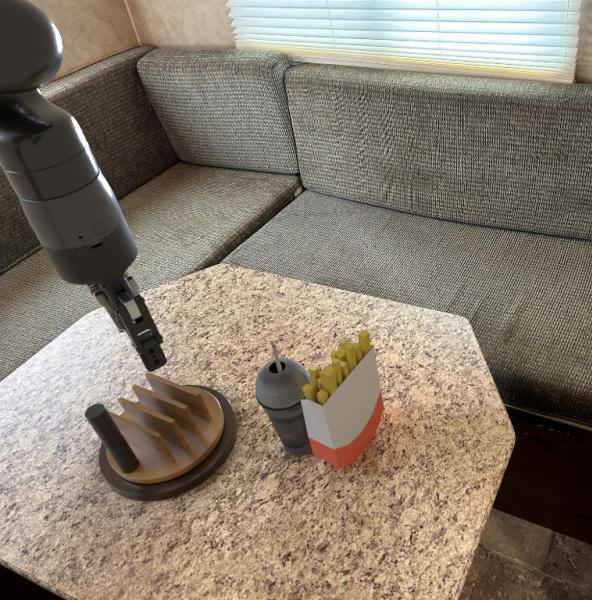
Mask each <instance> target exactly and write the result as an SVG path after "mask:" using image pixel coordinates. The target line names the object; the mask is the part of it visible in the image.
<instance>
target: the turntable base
mask: <svg viewBox="0 0 592 600" xmlns="http://www.w3.org/2000/svg"><path fill="white" fill-rule="evenodd" d="M181 385H182V386H184V387H195V388H199V389H202V390H205V391H207V392H209V393H210V394H211V395H213V396H214V397H215V398H216V399H217V401H218V402H219V404H220V406H221V409H222V411H223V415H224V426H223V431H222V434H221V436H220V439H219V441H218V442H217V444H216V446H215V447H214V449H213V450H212V451H211V453H210V454H209V455H208V456H207V457H206V458H205V459H204V460H203V461H202V462H200V463H199V464H198V465H197V466H195V467H194V468H192V469H191V470H189V471H187V472H186V473H184V474H182V475H180V476H178V477H175V478H173V479H170V480H167V481H163V482H158V483H146V484H144V483H136V482H131V481H129V480H126V479H124V478H122V477H121V476H119V475H118V474H117V473H116V472H115V471H114V469H113V468H112V467H111V465H110V464H109V461H108V459H107V454H106V447H105V446H104V444H103V443H102V442H101V443H100V447H99V450H98V467H99V471H100V474H101V475H102V477H103V479H104V481H105V482H106V483H107V485H108V486H109V487H110V488H111V490H113V491H114V492H115V494H117V495H119V496H121V497H123V498H126V499H129V500H132V501H137V502H157V501H163V500H168V499H171V498H175V497H178V496H180V495H182V494H185V493H187V492H190V491H191V490H193V489H195V488H196V487H198V486H200V485H202V484H203V483H204V482H205V481H207V480H208V479H210V478H211V477H212V476H213V475H214V474H215V473H216V472H217V471H218V470H219V469H220V468H221V467H222V465H223V464H224V463H225V462H226V461H227V459H228V458H229V456H230V454H231V452H232V450H233V449H234V446H235V444H236V441H237V436H238V432H239V431H238V429H239V424H238V423H239V422H238V418H237V414H236V412H235V409H234V407H233V405H232V403H231V402H230V400H229V399H228V397H226V396H225V395H224V394H223V393H222V392H221V391H219V390H217V389H215V388H212V387H210V386H205V385H201V384H181ZM137 402H138V401H136V402H135V403H137ZM124 412H125V411H124V410H123V412H122V413H121V414H120V415H119V416H122V415H123V414H124Z"/></svg>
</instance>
